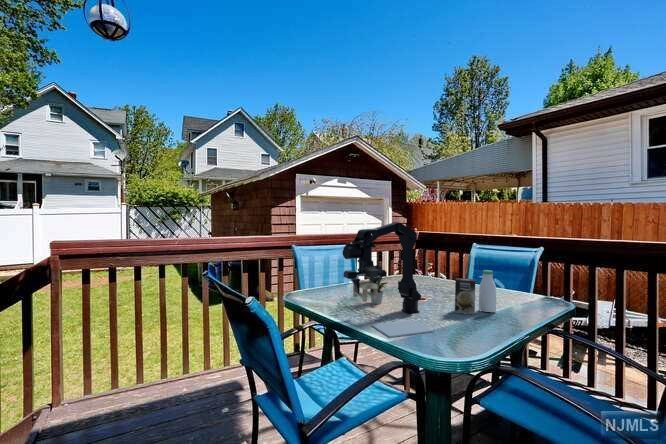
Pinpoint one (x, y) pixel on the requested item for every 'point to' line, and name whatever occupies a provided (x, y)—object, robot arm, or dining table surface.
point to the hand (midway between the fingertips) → (365, 293)
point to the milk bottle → (487, 292)
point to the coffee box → (465, 296)
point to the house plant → (380, 293)
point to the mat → (402, 328)
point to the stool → (366, 285)
